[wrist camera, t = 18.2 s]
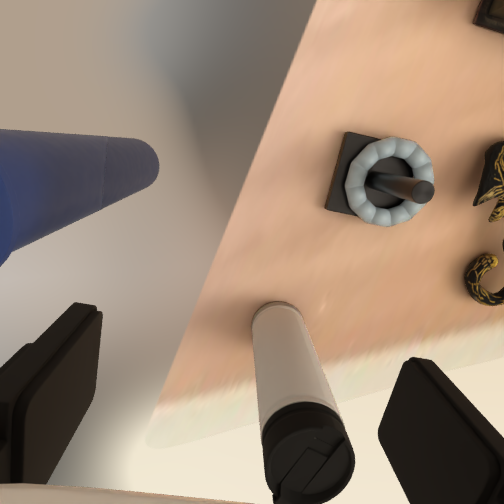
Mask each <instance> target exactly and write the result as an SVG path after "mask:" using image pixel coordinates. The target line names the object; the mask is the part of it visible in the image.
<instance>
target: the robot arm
mask: <svg viewBox="0 0 504 504" xmlns="http://www.w3.org/2000/svg"><path fill="white" fill-rule="evenodd" d="M102 318H103V314H102V312H101V311H97V307H96V306H95V305H89V304H83V303H77V302H75V303H73V304H72V305H71V306H70V307H69V308H68V309H67V310H66V311H65V312H64V313H63V314H62V315H61V316H60V317H59V318H58V319H57V320H56V321H55V322H54V323H53V324H52V325H51V326H50V327H49V328H48V329H47V330H46V331H45V332H44V333H43V334H42V335H41V336H40V337H39V338H38V339H37V340H36V341H35V342H34V343H28V344H26V345H24V346H23V347H22V348H21V349H20V350H19V351H17V352H16V353H15V354H14V355H13V356H12V357H11V358H10V359H9V360H8V361H7V362H6V363H5V364H4V365H3V366H2V367H1V368H0V504H253V503H243V502H233V501H223V500H213V499H203V498H193V497H183V496H174V495H164V494H154V493H144V492H134V491H123V490H112V489H100V488H91V487H76V486H59V485H46V483H47V482H48V480H49V478H50V477H51V475H52V473H53V471H54V469H55V467H56V466H57V464H58V462H59V460H60V458H61V457H62V455H63V453H64V451H65V450H66V447H67V446H68V444H69V442H70V440H71V439H72V437H73V435H74V433H75V431H76V430H77V428H78V426H79V424H80V422H81V421H82V419H83V417H84V415H85V413H86V411H87V410H88V408H89V406H90V404H91V402H92V400H93V397H94V393H95V388H96V379H97V368H98V359H99V348H100V338H101V328H102ZM378 439H379V441H380V444H381V446H382V448H383V450H384V452H385V454H386V456H387V458H388V460H389V462H390V464H391V466H392V468H393V470H394V472H395V474H396V476H397V478H398V480H399V482H400V484H401V486H402V488H403V490H404V492H405V494H406V496H407V498H408V501H409V503H410V504H504V438H503V437H502V435H501V434H500V433H499V432H498V431H497V430H496V429H495V428H494V427H493V426H492V425H491V424H490V422H489V421H488V420H487V419H486V418H485V417H484V416H483V415H482V414H481V413H480V412H479V411H478V410H477V408H476V407H475V406H474V405H473V404H472V403H471V402H470V401H469V400H468V399H467V398H466V396H465V395H464V394H463V393H462V392H461V391H460V390H459V389H458V388H457V387H456V386H455V385H454V383H452V381H451V380H450V379H449V378H448V377H447V376H446V375H445V374H444V373H443V372H442V370H441V369H440V368H439V367H438V366H437V365H436V364H435V363H434V362H433V361H432V360H429V359H422V358H416V357H412V358H410V359H409V360H408V361H405V362H404V363H403V365H402V368H401V370H400V373H399V376H398V378H397V381H396V383H395V386H394V389H393V391H392V394H391V397H390V399H389V402H388V404H387V407H386V409H385V412H384V415H383V418H382V420H381V423H380V425H379V428H378Z"/></svg>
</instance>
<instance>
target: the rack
mask: <svg viewBox="0 0 504 504" xmlns="http://www.w3.org/2000/svg"><path fill="white" fill-rule="evenodd" d="M379 140H382V139H377V138H373V137H369V136H364V135H360V134H356V133H351V132H345V134H344V138H343V142H342V145H341V149H340V153H339V156H338V160H337V164H336V167H335V171H334V175H333V178H332V182H331V186H330V190H329V193H328V197H327V201H326V204H325V209H326V210H330V211H335V212H339V213H344V214H349V215H354V216H358V215H357V214H356V213H355V212H354V211H353V210H352V209H351V208H350V206H349V202H348V198H347V194H346V190H345V182H346V179H347V175H348V172H349V168H350V165H351V162H352V161H353V160H354V159H355V158H356V157H357V156H358V155H359V154H360V152H361V151H362V150H363V149H364V148H365V147H366V146H367V145H368V144H370V143H373V142H376V141H379ZM364 189H365V194H366V198H367V199H368V200H369V201H370V202H371V203H372V204H373V205H374V206H375V207H378V208H383V209H390V208H393V207H396V206H399V205H400V204H401V203H402V202H403V201H404V200H408V201H411V202H414V203H418V204H425V203H427V202H429V201H430V200H431V199H432V197H433V195H434V191H435V190H434V186H433V184H432V183H431V182H429V181H426V180H421V179H415V178H413V171H412V167H411V166H410V165H409V164H408V163H407V162H406V161H405V160H404V159H402V158H398V157H394V156H390V157H387V158H384V159H381V160H378V161H377V162H376V163H375V164H374V165H373V166H372V167H371V168H370V169H369V170H368V172H367V176H366V179H365V182H364Z"/></svg>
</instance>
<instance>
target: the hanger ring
mask: <svg viewBox="0 0 504 504" xmlns="http://www.w3.org/2000/svg"><path fill="white" fill-rule="evenodd" d="M390 156H394V157H398V158H402V159H404V160H405V161H406V162H407V163H408V164H409V165H410V166H411V167H412V171H413V176H414V178H415V179H421V180H426V181H429V182H431V183H432V184H434V174H433V168H432V162H431V158H430V157H429V156H428V155H427V154H426V153H425V151H424V150H423V149H422V148H421V147H420V146H419V145H418V144H417V143H416V142H414V141H411V140H407V139H403V138H398V137H388V138H385V139H382V140H379V141H376V142H373V143H370V144H368V145H367V146H366V147H365V148H364V149H363V150H362V151H361V152H360V154H359V155H358V156H357V157H356V158H355V159H354V160H353V161H352V162H351V165H350V168H349V172H348V175H347V179H346V182H345V190H346V194H347V198H348V202H349V206H350V208H351V209H352V210H353V211H354V212H355V213H356V214H357V215H358V216H359V217H360V218H361V219H362V220H363V221H364V222H366V223H369V224H374V225H379V226H383V227H390V226H393V225H396V224H399V223H402V222H405V221H408V220H410V219H411V218H412V217H413V216H414V215H415V214H416V213H417V212H419V211H420V210H421V209H422V208H423V207H424V206H425V205H426V203H425V204H418V203H414V202H411V201H408V200H404V201H403V202H402V203H401V204H400V205H399V206H396V207H393V208H390V209H383V208H378V207H375V206H374V205H373V204H372V203H371V202H370V201H369V200H368V199H367V198H366V194H365V189H364V182H365V179H366V176H367V172H368V170H369V169H370V168H371V167H372V166H373V165H374V164H375V163H376V162H377V161H378V160H381V159H384V158H387V157H390Z"/></svg>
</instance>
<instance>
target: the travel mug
mask: <svg viewBox="0 0 504 504" xmlns="http://www.w3.org/2000/svg"><path fill="white" fill-rule="evenodd" d="M251 329H252V341H253V352H254V364H255V376H256V387H257V399H258V410H259V422H260V431H261V442H262V446H263V458H264V469H265V478H266V482H267V485H268V487H269V489H270V490H271V491H272V493H273V495H272V496H273V503H274V504H322V503H325V502H327V501H329V500H331V499H332V498H334V497H335V496H337V495H338V494H339V493H340V492H341V491H342V490H343V489H344V488H345V487H346V485H347V484H348V482H349V481H350V479H351V477H352V474H353V472H354V467H355V454H354V451H353V448H352V445H351V443H350V440H349V437H348V435H347V432H346V431H345V426H344V423H343V420H342V417H341V415H340V412H339V410H338V407H337V404H336V402H335V399H334V397H333V394H332V392H331V389H330V386H329V384H328V381H327V379H326V376H325V374H324V371H323V368H322V366H321V363H320V361H319V358H318V356H317V353H316V350H315V348H314V345H313V343H312V340H311V338H310V335H309V333H308V330H307V327H306V325H305V322H304V320H303V317H302V315H301V313H300V312H299V310H298V309H297V308H295V307H294V306H293V305H291V304H288V303H285V302H272V303H269V304H266V305H265V306H263V307H261V308H260V309H259V310H258V311H257V312H256V313H255V315H254V317H253V320H252V325H251Z"/></svg>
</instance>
